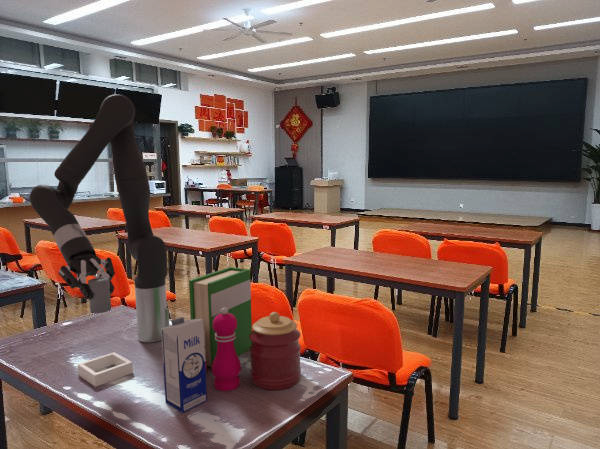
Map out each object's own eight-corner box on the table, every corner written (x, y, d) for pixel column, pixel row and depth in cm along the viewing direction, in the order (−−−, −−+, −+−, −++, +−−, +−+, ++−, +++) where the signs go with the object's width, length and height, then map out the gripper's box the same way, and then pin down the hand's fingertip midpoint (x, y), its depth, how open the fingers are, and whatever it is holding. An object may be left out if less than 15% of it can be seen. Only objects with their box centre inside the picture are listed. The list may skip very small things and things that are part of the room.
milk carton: (181, 413, 100) (177, 326, 98) (164, 403, 105) (159, 320, 102) (207, 400, 106) (204, 318, 103) (190, 391, 110) (186, 312, 107)
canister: (311, 377, 117) (310, 311, 114) (276, 397, 107) (274, 325, 105) (275, 363, 125) (274, 301, 123) (239, 380, 115) (237, 313, 113)
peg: (104, 305, 121) (102, 276, 120) (115, 309, 118) (113, 279, 117) (86, 310, 117) (84, 280, 116) (96, 314, 114) (94, 283, 113)
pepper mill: (236, 393, 109) (233, 313, 106) (207, 390, 110) (204, 311, 108) (245, 379, 116) (243, 303, 113) (218, 377, 117) (215, 302, 115)
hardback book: (214, 371, 121) (210, 283, 118) (193, 365, 124) (188, 280, 121) (252, 347, 136) (250, 269, 133) (232, 343, 140) (230, 266, 136)
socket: (114, 362, 127) (114, 352, 127) (132, 372, 120) (132, 362, 120) (78, 374, 120) (77, 364, 119) (95, 386, 113) (94, 375, 113)
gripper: (50, 239, 114) (78, 293, 109) (104, 232, 126) (131, 280, 120) (42, 257, 118) (69, 310, 113) (95, 249, 130) (121, 296, 124)
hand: (101, 294), depth 117 cm, fingers closed on peg, 5 cm apart
